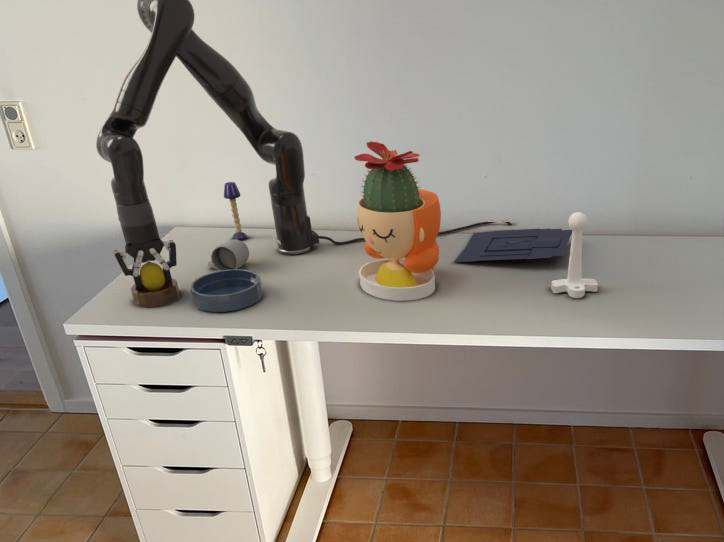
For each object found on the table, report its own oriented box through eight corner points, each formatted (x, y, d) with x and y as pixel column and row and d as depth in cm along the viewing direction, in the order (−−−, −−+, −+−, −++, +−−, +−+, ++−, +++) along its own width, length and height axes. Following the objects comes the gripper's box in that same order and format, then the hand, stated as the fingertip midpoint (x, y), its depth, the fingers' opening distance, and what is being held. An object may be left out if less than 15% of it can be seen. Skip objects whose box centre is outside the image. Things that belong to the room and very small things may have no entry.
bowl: (252, 280, 185) (249, 264, 183) (271, 303, 173) (268, 286, 171) (187, 294, 178) (184, 278, 175) (202, 319, 166) (198, 301, 163)
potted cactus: (401, 307, 170) (391, 160, 152) (343, 283, 183) (327, 144, 166) (463, 280, 183) (460, 142, 166) (405, 259, 197) (397, 129, 179)
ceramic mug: (253, 263, 195) (248, 236, 192) (240, 274, 188) (234, 247, 185) (217, 261, 197) (211, 235, 193) (203, 273, 190) (196, 245, 186)
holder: (175, 286, 182) (172, 273, 180) (183, 301, 174) (180, 288, 173) (131, 295, 178) (128, 282, 176) (138, 311, 170) (134, 297, 168)
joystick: (593, 285, 180) (599, 208, 170) (600, 298, 173) (606, 219, 163) (550, 287, 179) (553, 210, 169) (555, 300, 173) (558, 220, 163)
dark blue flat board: (563, 267, 187) (563, 254, 185) (454, 271, 195) (452, 259, 193) (574, 236, 207) (573, 224, 206) (475, 241, 215) (473, 229, 213)
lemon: (160, 297, 172) (151, 266, 168) (139, 295, 173) (131, 265, 169) (172, 288, 177) (165, 258, 173) (153, 286, 178) (145, 256, 174)
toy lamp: (229, 238, 213) (218, 183, 205) (243, 234, 216) (233, 179, 207) (236, 242, 210) (226, 186, 202) (251, 238, 213) (241, 183, 204)
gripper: (106, 230, 160) (125, 298, 169) (172, 218, 166) (188, 284, 175) (101, 221, 166) (121, 287, 174) (166, 210, 172) (182, 274, 181)
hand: (154, 285), depth 175 cm, fingers closed on lemon, 5 cm apart
